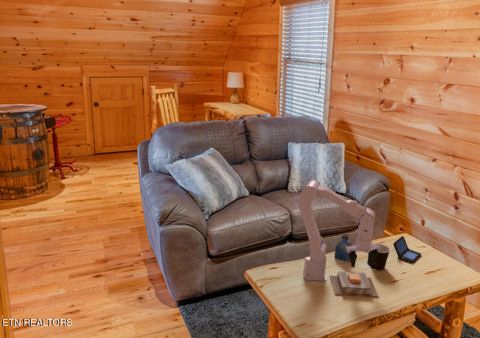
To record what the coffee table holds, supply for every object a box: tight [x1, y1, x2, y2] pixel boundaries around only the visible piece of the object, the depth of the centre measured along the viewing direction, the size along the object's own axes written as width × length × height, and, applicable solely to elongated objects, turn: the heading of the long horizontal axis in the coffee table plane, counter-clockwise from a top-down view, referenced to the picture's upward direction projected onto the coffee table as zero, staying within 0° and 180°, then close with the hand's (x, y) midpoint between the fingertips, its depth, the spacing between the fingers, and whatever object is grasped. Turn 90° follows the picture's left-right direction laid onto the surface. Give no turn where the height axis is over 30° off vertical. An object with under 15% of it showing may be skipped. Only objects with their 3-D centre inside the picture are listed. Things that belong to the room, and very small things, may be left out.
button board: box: [329, 271, 380, 298], centre depth 176 cm, size 18×14×4 cm
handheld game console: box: [392, 235, 422, 264], centre depth 203 cm, size 12×11×7 cm
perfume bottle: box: [334, 233, 354, 263], centre depth 199 cm, size 6×6×12 cm
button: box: [348, 273, 361, 283], centre depth 176 cm, size 4×4×3 cm
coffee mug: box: [369, 243, 391, 272], centre depth 193 cm, size 12×9×10 cm
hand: (360, 265), depth 175 cm, fingers open, 7 cm apart
